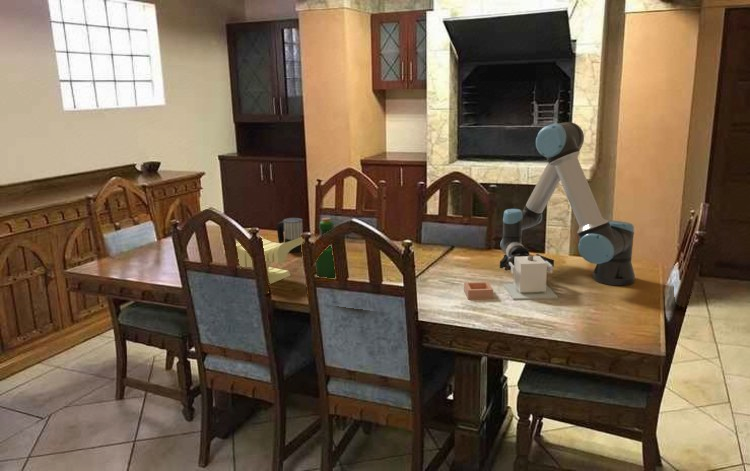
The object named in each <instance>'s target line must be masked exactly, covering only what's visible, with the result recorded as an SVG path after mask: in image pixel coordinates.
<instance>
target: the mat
mask: <svg viewBox="0 0 750 471" xmlns="http://www.w3.org/2000/svg"><path fill="white" fill-rule="evenodd" d="M502 286H503V288H504V290H506V292H507V293H508V294H509V296H510V298H511V299H512V300H513V301H520V300H523V301H524V300H548V299H550V300H551V299H555V300H556V299H559V298H558V295H556V293H555V292H554V291H553V290H552V289H551V288H550V287H549V286H548V284H546V291H539V292H535V293H523V292H519V290H518V289H517V288H516V286H515V285H514V282H513V283H502Z"/></svg>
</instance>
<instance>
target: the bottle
mask: <svg viewBox="0 0 750 471" xmlns="http://www.w3.org/2000/svg"><path fill="white" fill-rule="evenodd" d="M318 227H319V229H320V233H321V234H319V235H318V236H317V237H316V238H315V239H314V241H315V240H316V239H317V238H318V237H319V236H321V235H323V234H324V233H326V232H327V231H329V230H331V229H332V230H333V229H334V228H335V226H334V223H333V220H331V217H322V218H321V221H319V226H318ZM316 270H317V274H316V277H317V276H319V277H327V278H335V269H334V261H333V255H332V248H331V246H329V247H328V248H327V249H326V250H324V251H323V253H322V254H321V255H320V256H319V258H318V260H317V261H316V265H315V271H316Z"/></svg>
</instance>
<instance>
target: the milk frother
mask: <svg viewBox="0 0 750 471" xmlns="http://www.w3.org/2000/svg"><path fill="white" fill-rule="evenodd" d="M276 231H277V232H276V233H277V240H278V243H280V244H282V243H286V242H289V241H292V240H295V239H298V238H300V237H301V236H300V234H301V233H303V219H302V218H299V217H288V218H284V219H283V220H282V221H279V222H278V223H277V225H276ZM299 252H302V251H301V245H299V246H296V247H295V248H293V249H292V250H290V251H289V253H299Z"/></svg>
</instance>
